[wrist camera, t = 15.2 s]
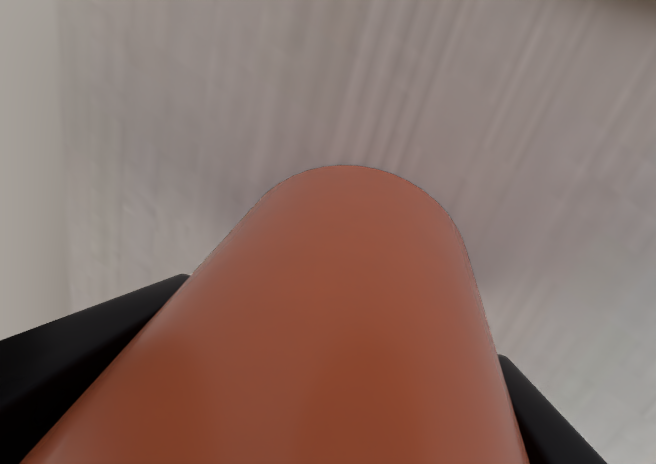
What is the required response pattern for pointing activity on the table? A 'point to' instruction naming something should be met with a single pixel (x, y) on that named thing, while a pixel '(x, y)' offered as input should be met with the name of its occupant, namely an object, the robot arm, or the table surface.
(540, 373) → the table surface
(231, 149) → the table surface
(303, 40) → the table surface
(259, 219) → the terracotta tin
